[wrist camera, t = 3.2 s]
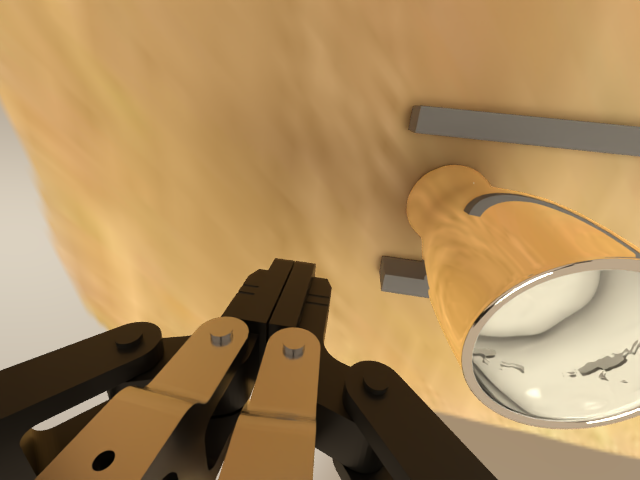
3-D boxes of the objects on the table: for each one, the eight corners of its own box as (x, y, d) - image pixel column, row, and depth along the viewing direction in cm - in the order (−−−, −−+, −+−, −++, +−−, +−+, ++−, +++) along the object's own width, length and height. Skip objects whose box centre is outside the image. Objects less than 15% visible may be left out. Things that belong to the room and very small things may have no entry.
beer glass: (491, 244, 23) (675, 441, 9) (400, 248, 24) (447, 428, 11) (503, 153, 20) (788, 246, 7) (400, 162, 21) (464, 257, 8)
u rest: (413, 105, 20) (421, 105, 17) (841, 147, 18) (927, 154, 15) (379, 271, 25) (381, 290, 23) (703, 318, 23) (748, 346, 20)
